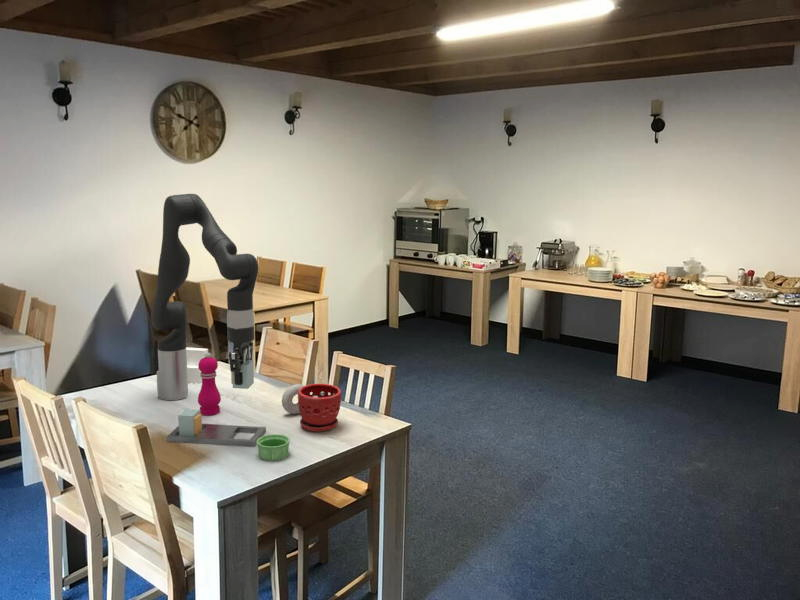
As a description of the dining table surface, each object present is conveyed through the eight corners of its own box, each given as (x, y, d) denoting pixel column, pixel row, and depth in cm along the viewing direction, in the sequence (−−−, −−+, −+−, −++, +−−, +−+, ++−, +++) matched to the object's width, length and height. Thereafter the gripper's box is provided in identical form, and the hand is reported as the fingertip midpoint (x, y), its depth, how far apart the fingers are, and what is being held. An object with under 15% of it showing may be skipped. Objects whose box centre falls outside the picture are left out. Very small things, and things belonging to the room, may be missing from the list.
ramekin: (260, 464, 175) (260, 448, 174) (254, 451, 183) (253, 436, 183) (293, 459, 179) (293, 443, 178) (285, 446, 187) (285, 432, 186)
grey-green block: (230, 388, 187) (230, 364, 185) (237, 382, 192) (236, 359, 191) (247, 388, 186) (247, 365, 185) (253, 383, 191) (253, 360, 190)
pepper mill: (214, 417, 208) (212, 356, 205) (194, 415, 210) (191, 354, 206) (225, 409, 215) (223, 350, 211) (205, 407, 217) (202, 349, 213)
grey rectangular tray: (166, 441, 189) (166, 436, 188) (183, 427, 199) (182, 422, 199) (254, 446, 186) (254, 441, 186) (266, 431, 197) (265, 427, 197)
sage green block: (179, 438, 191) (178, 415, 190) (187, 431, 196) (186, 408, 195) (195, 439, 191) (194, 416, 189) (203, 432, 196) (202, 409, 195)
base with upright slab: (179, 382, 242) (178, 351, 240) (191, 375, 251) (190, 345, 248) (202, 384, 240) (201, 353, 238) (213, 377, 249) (212, 346, 247)
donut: (284, 418, 208) (284, 388, 206) (280, 415, 211) (279, 385, 209) (312, 412, 214) (312, 383, 212) (307, 409, 217) (307, 380, 215)
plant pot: (290, 431, 198) (289, 393, 196) (311, 416, 210) (311, 381, 208) (328, 437, 193) (328, 399, 191) (348, 423, 205) (348, 386, 203)
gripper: (236, 318, 193) (238, 373, 196) (218, 329, 179) (220, 388, 182) (261, 319, 192) (262, 374, 195) (245, 330, 178) (246, 390, 181)
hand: (242, 381), depth 189 cm, fingers closed on grey-green block, 5 cm apart
